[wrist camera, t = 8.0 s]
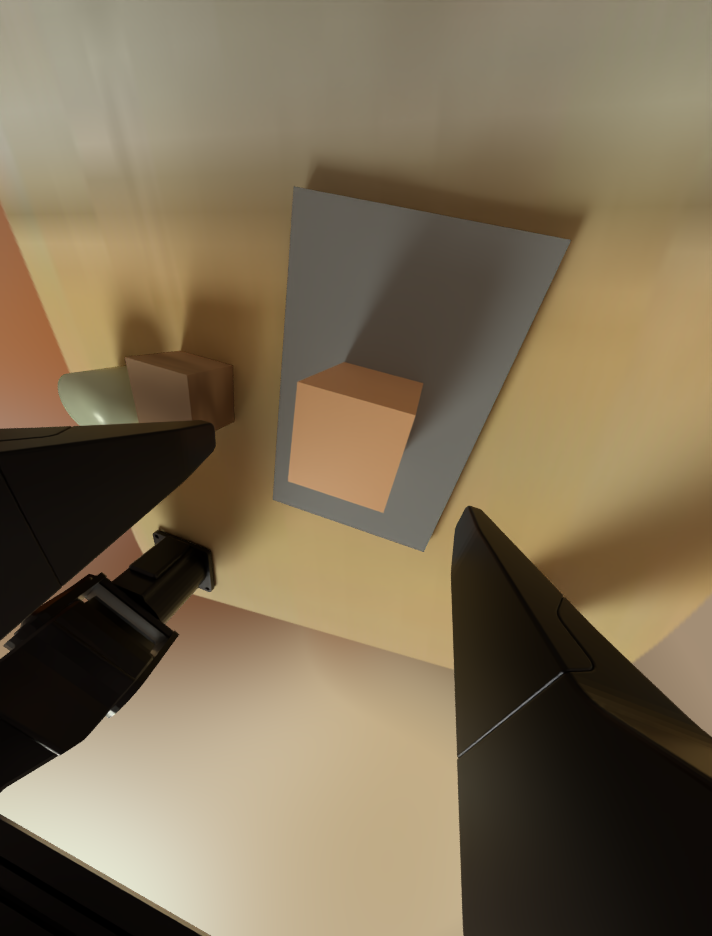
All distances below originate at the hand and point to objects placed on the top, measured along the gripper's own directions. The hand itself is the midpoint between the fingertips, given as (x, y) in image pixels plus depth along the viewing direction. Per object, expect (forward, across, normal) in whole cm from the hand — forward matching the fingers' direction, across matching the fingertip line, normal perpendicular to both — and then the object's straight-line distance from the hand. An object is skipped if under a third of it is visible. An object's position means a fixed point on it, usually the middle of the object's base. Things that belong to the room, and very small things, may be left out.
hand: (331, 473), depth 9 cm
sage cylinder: (+9, +18, +4) cm, 21 cm away
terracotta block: (+8, 0, 0) cm, 8 cm away
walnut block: (+9, +12, +2) cm, 15 cm away
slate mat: (+9, 0, 0) cm, 9 cm away
